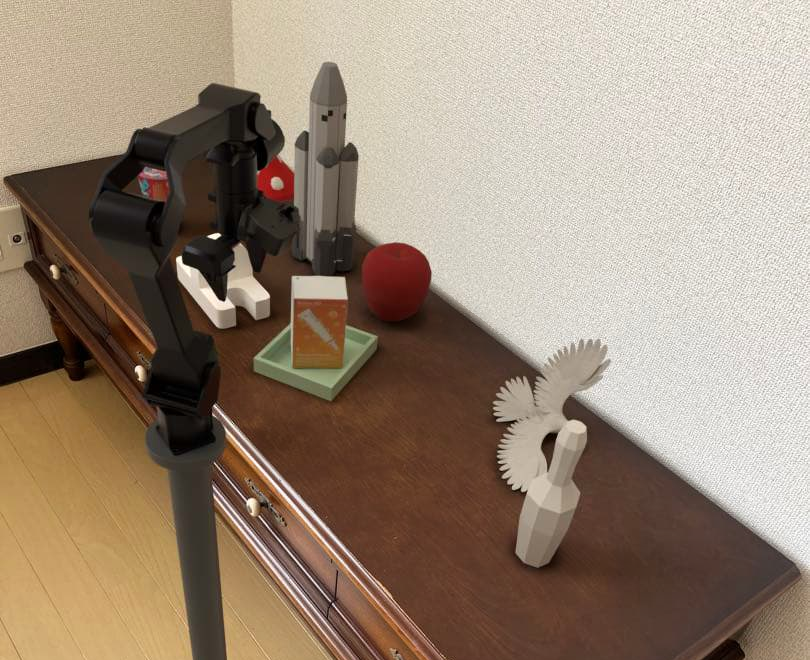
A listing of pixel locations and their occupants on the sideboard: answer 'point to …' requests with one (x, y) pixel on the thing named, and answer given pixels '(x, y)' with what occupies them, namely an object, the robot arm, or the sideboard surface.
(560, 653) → the sideboard surface
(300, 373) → the tray
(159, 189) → the cup
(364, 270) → the apple
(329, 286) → the small box
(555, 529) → the low poly bottle
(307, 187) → the toy rocket
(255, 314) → the white slotted holder
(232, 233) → the robot arm
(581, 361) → the bird
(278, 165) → the decorative mushroom
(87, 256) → the sideboard surface
